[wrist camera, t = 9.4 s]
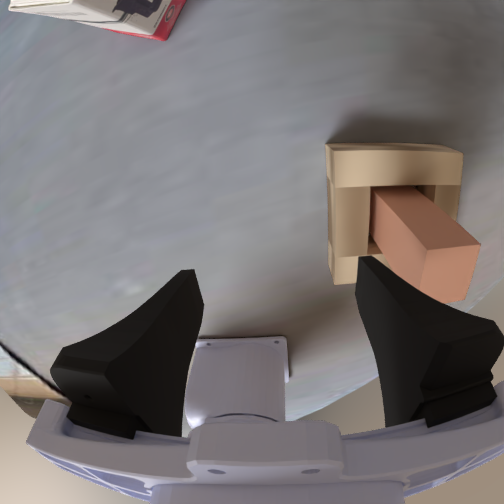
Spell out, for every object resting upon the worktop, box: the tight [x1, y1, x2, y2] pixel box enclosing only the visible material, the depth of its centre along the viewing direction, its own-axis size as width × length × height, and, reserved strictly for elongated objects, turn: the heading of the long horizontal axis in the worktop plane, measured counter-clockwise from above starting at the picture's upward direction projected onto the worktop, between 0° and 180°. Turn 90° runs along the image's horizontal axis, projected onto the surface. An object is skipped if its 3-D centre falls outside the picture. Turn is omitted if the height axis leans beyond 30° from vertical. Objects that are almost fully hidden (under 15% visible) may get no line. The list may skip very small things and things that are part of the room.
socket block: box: [325, 143, 463, 285], centre depth 20 cm, size 10×10×3 cm
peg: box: [369, 185, 481, 304], centre depth 17 cm, size 4×4×10 cm
